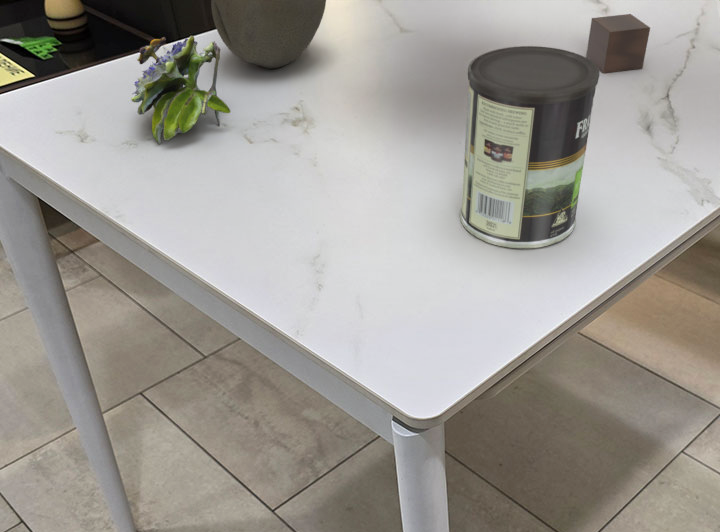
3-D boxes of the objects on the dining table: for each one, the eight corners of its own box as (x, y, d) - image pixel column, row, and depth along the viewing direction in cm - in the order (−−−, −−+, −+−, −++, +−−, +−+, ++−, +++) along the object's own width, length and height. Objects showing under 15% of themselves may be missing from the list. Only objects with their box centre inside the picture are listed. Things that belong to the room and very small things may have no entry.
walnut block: (623, 53, 106) (630, 13, 103) (642, 68, 102) (650, 27, 99) (585, 58, 105) (591, 17, 102) (603, 73, 102) (610, 32, 99)
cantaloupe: (322, 84, 103) (316, -46, 94) (208, 83, 104) (191, -44, 95) (335, 41, 114) (330, -78, 105) (231, 41, 115) (218, -76, 106)
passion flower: (169, 157, 101) (167, 55, 101) (251, 150, 97) (250, 44, 97) (112, 142, 90) (110, 29, 90) (202, 134, 86) (200, 15, 86)
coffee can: (574, 193, 80) (597, 46, 71) (576, 254, 72) (602, 98, 63) (464, 185, 82) (473, 42, 73) (453, 244, 74) (462, 91, 65)
